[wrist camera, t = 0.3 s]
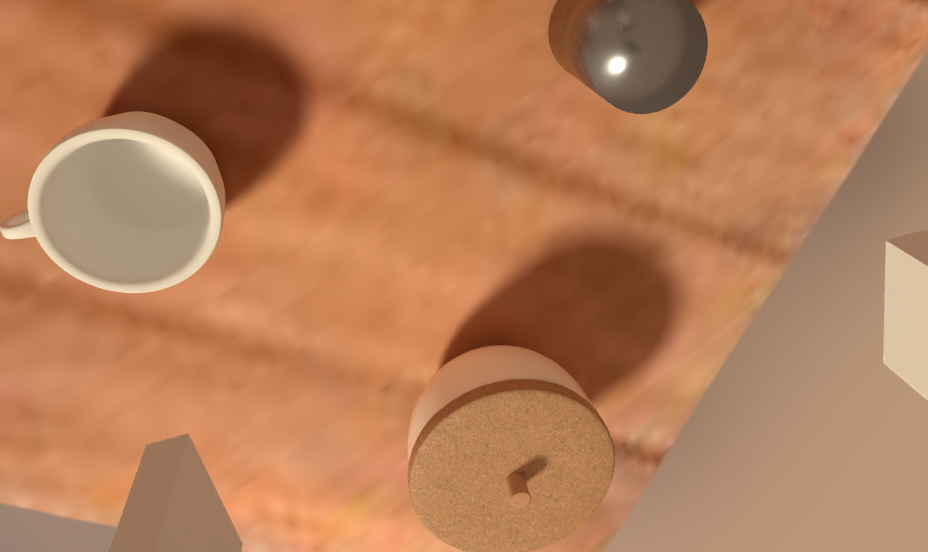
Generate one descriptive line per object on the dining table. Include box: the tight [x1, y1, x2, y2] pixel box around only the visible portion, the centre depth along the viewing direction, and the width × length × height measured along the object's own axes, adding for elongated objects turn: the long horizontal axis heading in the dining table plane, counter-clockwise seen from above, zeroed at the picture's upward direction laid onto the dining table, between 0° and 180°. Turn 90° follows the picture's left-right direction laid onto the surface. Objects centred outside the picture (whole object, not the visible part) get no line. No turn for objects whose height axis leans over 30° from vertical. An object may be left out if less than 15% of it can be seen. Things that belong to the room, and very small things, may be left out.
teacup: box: [0, 111, 225, 293], centre depth 36 cm, size 10×8×5 cm
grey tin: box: [549, 0, 708, 114], centre depth 35 cm, size 5×5×7 cm
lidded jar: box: [407, 345, 615, 552], centre depth 43 cm, size 11×11×9 cm
